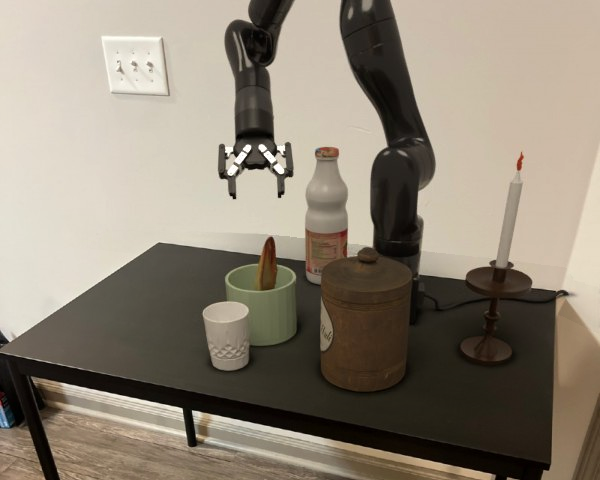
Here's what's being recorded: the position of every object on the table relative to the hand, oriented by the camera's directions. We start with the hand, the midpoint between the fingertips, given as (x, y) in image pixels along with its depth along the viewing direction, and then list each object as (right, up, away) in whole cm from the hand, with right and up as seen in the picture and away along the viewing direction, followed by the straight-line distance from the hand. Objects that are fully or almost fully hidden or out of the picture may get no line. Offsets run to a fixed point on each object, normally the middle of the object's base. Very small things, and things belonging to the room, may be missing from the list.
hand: (257, 196), depth 114 cm
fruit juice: (+14, -10, +25) cm, 31 cm away
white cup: (-4, -31, -4) cm, 32 cm away
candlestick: (+42, -30, -3) cm, 52 cm away
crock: (+1, -24, +5) cm, 25 cm away
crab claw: (+1, -23, +5) cm, 24 cm away
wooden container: (+19, -33, -7) cm, 39 cm away
